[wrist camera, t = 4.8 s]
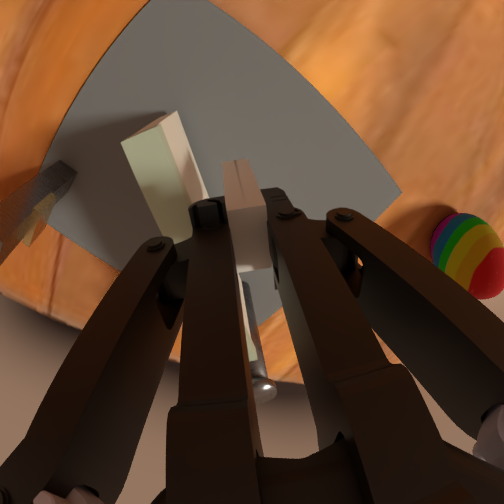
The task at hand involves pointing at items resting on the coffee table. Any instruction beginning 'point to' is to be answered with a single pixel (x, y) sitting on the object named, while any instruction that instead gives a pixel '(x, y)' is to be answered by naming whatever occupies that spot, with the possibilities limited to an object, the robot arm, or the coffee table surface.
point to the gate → (171, 183)
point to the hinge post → (260, 381)
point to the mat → (205, 132)
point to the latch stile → (32, 206)
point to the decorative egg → (469, 254)
